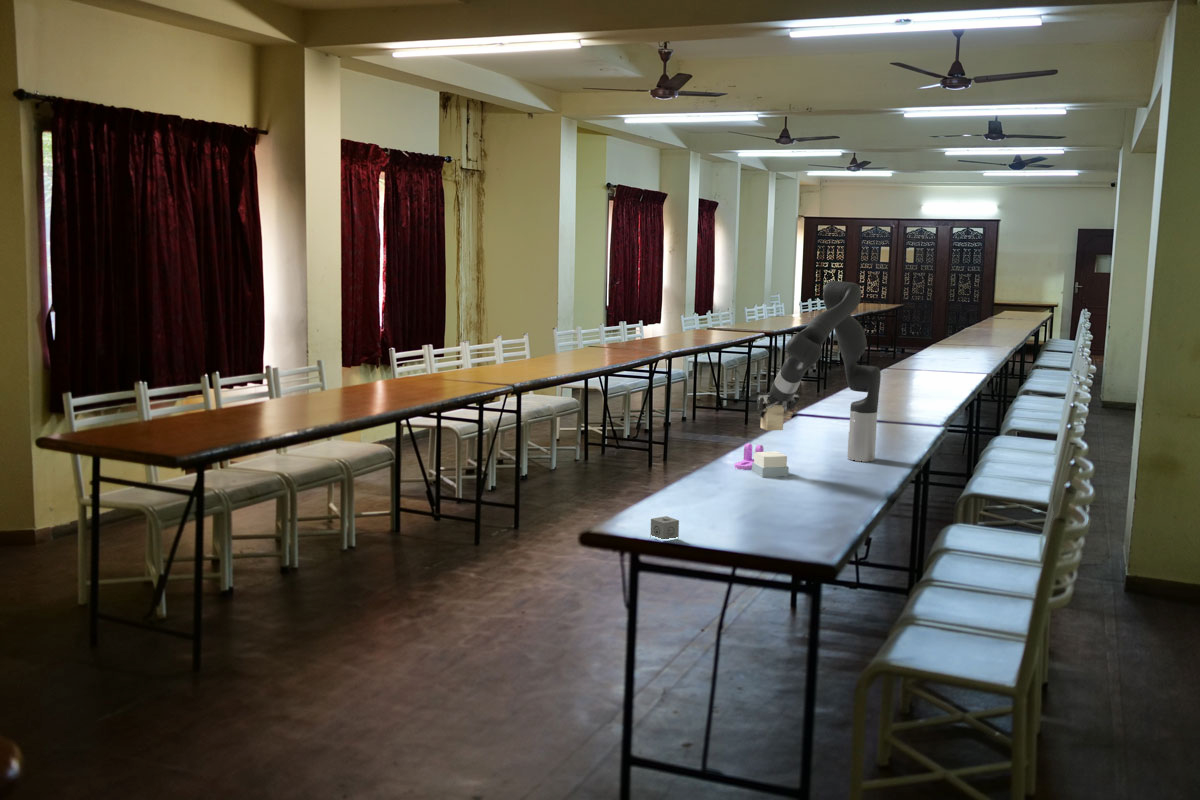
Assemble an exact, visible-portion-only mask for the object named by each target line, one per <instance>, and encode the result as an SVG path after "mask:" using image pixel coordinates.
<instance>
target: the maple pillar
mask: <svg viewBox="0 0 1200 800" xmlns="http://www.w3.org/2000/svg"><path fill="white" fill-rule="evenodd" d="M768 402H769V400H768ZM769 403H770V402H769ZM770 404H771V403H770ZM765 406H766V405H765ZM784 414H785V412H784V408H783V407H782V405H774V406H773V407H772V408H769V409H768V410H767V411H766V413H765V415H764V417H763V418H761V417H760V429H762V430H764V431H769V432H770V431H783V429H784Z"/></svg>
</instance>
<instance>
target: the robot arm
mask: <svg viewBox="0 0 1200 800" xmlns="http://www.w3.org/2000/svg"><path fill="white" fill-rule="evenodd" d="M822 292H823V293H822V299H823V304H824V307H825V309H826V310H824V311H823V312H821V313H819V314H817V315H815V316H813V318H812V319H811V320H810V322H809V323H808V324H807V326H806V327H805V328H803V330H801V331H798V332H797V333H795V334H794V335H793V336H792V337H790V339H789V340H788V341H787V343H786V345H785V350H786V353H787V354H788V355H789V356H788V357H787V358H786V359H785V361H784V362H783V364H782V366H781V368H780V370H779V371H778V372H777V375H776V377H775V379H774V380H773V382H772V384H771V387H770V391H769V392H767V393H766V394H762V393H759V394H758V395H757V400H756V407H757V410H758V414H759V417H760V419H761V418H763V417H764V415H765V413H766V411H767V410H768V409H769V408H772V407H773V406H774V405H782V407H783V408H784V413H785V412H786V411H787V410H790V411H791V410H793V408H794V407H796V405H797V404H798V403H799V402H800V400H801V398H800V396H799V393H798V392H797V391H798V388H799V387H800V384H801V381H802V379H803V377H804V375H805V374H806V372H807V371H808V370H809V369H810V368H812V367H813V366H814V365H815V364H816V363H817V362H818V361H819V360H820V358H821V356H822V352H823V351H822V348H821V346H822V345H823V344H824V342H826V340H827V338H828V337H829V335H830V334H831V333H832V332H833V330H834V333H835V336H836V341H837V345H838V347H839V351H840V354H841V357H842V360H843V364H844V370H845V377H846V382H847V385H848V388H849V389H850V390H851V391H854V392H859V393H860V392H861V393H867V395H866V397H865V398H863V399H860V400H856V401H852V402H851V404H850V409H849V410H850V411H849V429H848V430H849V431H848V438H847V439H848V440H847V459H848V460H850V459H851V460H850V461H853V460H855V462H861V461H862V462H863V463H864V462H869V461H870V462H874V461H875V460H876V459H875V458H876V446H877V445H876V442H877V441H876V440H877V426H878V425H877V424H878V423H877V422H878V410H879V409H878V408H879V399H880V398H879V395H880V388H881V378H882V377H881V376H882V375H881V370H880V368H879V367H878V366H873V365H872V366H871V365H862V364H861V365H859V364H858V363H857V362H858V361H859V359H860V358H861V357H862V355H863V354H864V353H865V351H866V349H867V345H868V344H867V343H868V342H867V338H866V334H865V329H864V327H863V326H862V324H861V323H860V322H859V321H858V320H857V319H856V318H854V317H853V316H852V315H851V314H852V313H854V312H855V310H857V308H858V306H859V304H860V301H862V300H861V299H862V288H861V287H860V285H859V284H858V283H855V282H852V281H851V282H850V281H840V280H830V281H828V282H826V283H825V285H824V286H823V291H822ZM768 400H769V402H770V403H771V404H770V403H769V402H768ZM765 405H766V406H765Z"/></svg>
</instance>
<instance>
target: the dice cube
mask: <svg viewBox="0 0 1200 800" xmlns="http://www.w3.org/2000/svg"><path fill="white" fill-rule="evenodd" d="M679 525H680V520H679V519H676V518H673V517H670V516H666V515H665V516H659V517H653V518H650V536H651V535H652V536H655V537H658V538H661V539H669V538H676V537H678V538H679V535H680V534H679V532H680V530H679V529H680V526H679Z"/></svg>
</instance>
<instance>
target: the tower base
mask: <svg viewBox="0 0 1200 800" xmlns="http://www.w3.org/2000/svg"><path fill="white" fill-rule="evenodd" d="M789 471H790V469H789V466H788V465H787V467H766V468H764V467H762V466H760V465H758V464H756V463H754V462H752V469H751V472H752V473H755V475H757V476H759V477H761V478H777V477H776V476H784V477H789Z"/></svg>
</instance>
